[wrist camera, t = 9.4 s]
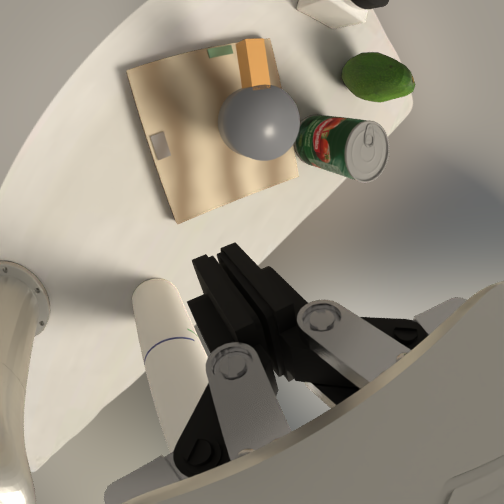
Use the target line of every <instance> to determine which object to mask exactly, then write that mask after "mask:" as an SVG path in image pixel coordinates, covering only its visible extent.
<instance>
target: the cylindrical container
mask: <svg viewBox="0 0 504 504" xmlns="http://www.w3.org/2000/svg"><path fill="white" fill-rule="evenodd" d="M132 305H133V311H134V317H135V322H136V328H137V333H138V338H139V343H140V347H141V352H142V356H143V361H144V365H145V369H146V373H147V377H148V381H149V385H150V389H151V393H152V396H153V400H154V404H155V407H156V411H157V414H158V418H159V421H160V424H161V427H162V430H163V434H164V437H165V440H166V442H167V445H168V448H169V451H170V453H172V452H173V451H174V448H175V445H176V443H177V441H178V440H179V438H180V436H181V434H182V432H183V430H184V428H185V426H186V425H187V423H188V421H189V419H190V417H191V415H192V413H193V411H194V409H195V408H196V406H197V404H198V402H199V400H200V398H201V396H202V394H203V392H204V390H205V388H206V386H207V384H208V383H209V382H208V378H207V374H206V361H207V359H208V357H207V355H206V352H205V350H204V348H203V346H202V344H201V342H200V340H199V337H198V336H197V333H196V331H195V329H194V326H193V324H192V322H191V320H190V317H189V315H188V313H187V311H186V308H185V306H184V304H183V301H182V299H181V297H180V294H179V292H178V290H177V288H176V286H175V285H174V284H173V283H171V282H170V281H167V280H165V279H157V278H156V279H150V280H147V281H145V282H143V283H141V284H140V285H139V286H138V287H137V288H136V289H135V291H134V293H133V296H132Z"/></svg>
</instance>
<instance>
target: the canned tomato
mask: <svg viewBox="0 0 504 504" xmlns="http://www.w3.org/2000/svg"><path fill="white" fill-rule="evenodd" d="M294 144H295V149H296V152H297V155H298V156H299V158H300V159H301V160H302V161H303V162H304V163H306V164H308V165H311V166H315V167H318V168H321V169H324V170H327V171H330V172H333V173H336V174H339V175H342V176H345V177H348V178H351V179H354V180H357V181H358V182H362V183H368V182H372V181H373V180H375V179H376V178H377V177H379V176H380V174H381V173H382V172H383V170H384V168H385V166H386V164H387V161H388V156H389V141H388V137H387V134H386V132H385V130H384V129H383V128H382V126H381V125H379V124H378V123H376V122H374V121H366V120H360V119H352V118H344V117H333V116H322V115H312V116H309V117H307V118H305V119H304V120H303V121H302V122H301V123H300V128H299V133H298V136H297V138H296V140H295V142H294Z"/></svg>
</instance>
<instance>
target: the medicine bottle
mask: <svg viewBox="0 0 504 504" xmlns="http://www.w3.org/2000/svg"><path fill="white" fill-rule="evenodd" d="M388 2H389V0H299V1H298V5H297V10H298V11H300V12H302V13H304V14H306V15H308V16H310V17H312V18H314V19H316V20H317V21H319V22H321V23H323V24H325V25H326V26H328V27H330V28H332V29H336V28H341V27H346V26H351V25H356V24H361V23H365V21H366V16H367V11H368V9H373V8H378V7H383V6H386V5H387V4H388Z"/></svg>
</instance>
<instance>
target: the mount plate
mask: <svg viewBox="0 0 504 504" xmlns="http://www.w3.org/2000/svg"><path fill="white" fill-rule="evenodd" d="M237 43H239V42H237ZM237 43H231V44H225V45H220V46H214V47H209V48H205V49H200V50H195V51H191V52H187V53H183V54H179V55H175V56H171V57H168V58H164V59H161V60H157V61H154V62H151V63H147V64H144V65H141V66H138V67H135V68H132V69H129V70H127V72H126V73H127V76H128V80H129V83H130V87H131V90H132V94H133V97H134V100H135V104H136V107H137V110H138V114H139V117H140V120H141V123H142V126H143V130H144V133H145V136H146V139H147V142H148V145H149V148H150V151H151V154H152V157H153V160H154V163H155V166H156V169H157V172H158V174H159V177H160V180H161V183H162V186H163V189H164V191H165V194H166V197H167V200H168V202H169V205H170V208H171V211H172V213H173V216H174V219H175V221H176V223H177V224H180V223H182V222H185V221H187V220H189V219H192V218H194V217H196V216H199V215H201V214H204V213H206V212H208V211H211V210H213V209H216V208H218V207H221V206H223V205H226V204H228V203H231V202H233V201H236V200H238V199H241V198H243V197H246V196H248V195H251V194H253V193H256V192H259V191H261V190H264V189H266V188H269V187H272V186H274V185H277V184H280V183H282V182H285V181H288V180H291V179H293V178H296V177H299V175H298V169H297V163H296V158H295V152H294V147H293V145H292V147H291V148H290V149H289V150H288V151H287V152H286V153H285V154H283V155H282V156H280V157H278V158H276V159H273V160H268V161H260V160H255V159H251V158H249V157H246V156H243V155H240V154H237V153H235V152H234V151H232V150H231V149H230V148H229V147H228V146H227V145H226V144H225V143H224V141H223V140H222V138H221V136H220V133H219V129H218V115H219V111H220V108H221V106H222V104H223V102H224V101H225V100H226V98H227V97H228V96H229V95H230V94H232V93H233V92H234V91H236V90H238V89H241V88H242V85H241V78H240V71H239V64H238V58H237V51H236V45H235V44H237ZM264 43H265V49H266V56H267V63H268V70H269V77H270V85H273V86H276V87H279V88H281V89H282V87H281V83H280V78H279V74H278V70H277V65H276V61H275V57H274V53H273V49H272V45H271V41H270V38H268V39H264Z"/></svg>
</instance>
